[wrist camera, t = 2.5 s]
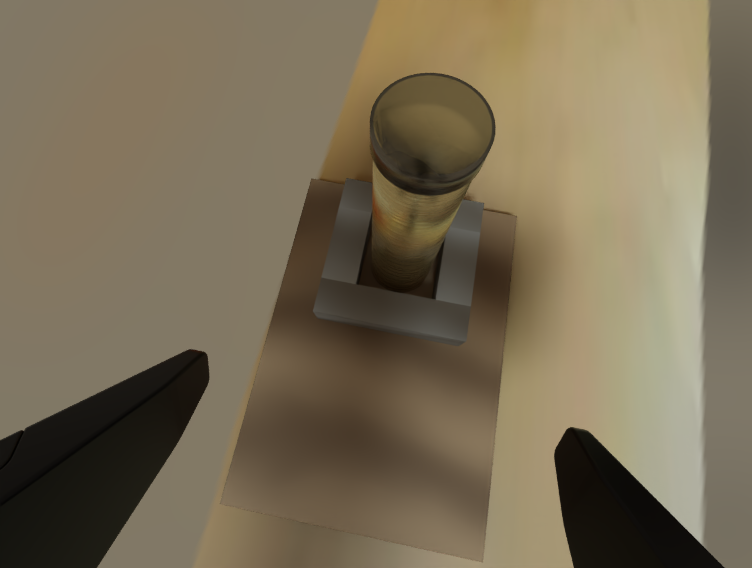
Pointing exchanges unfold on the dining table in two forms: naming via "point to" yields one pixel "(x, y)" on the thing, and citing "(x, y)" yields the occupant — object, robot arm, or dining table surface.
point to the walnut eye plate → (379, 382)
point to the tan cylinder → (422, 170)
